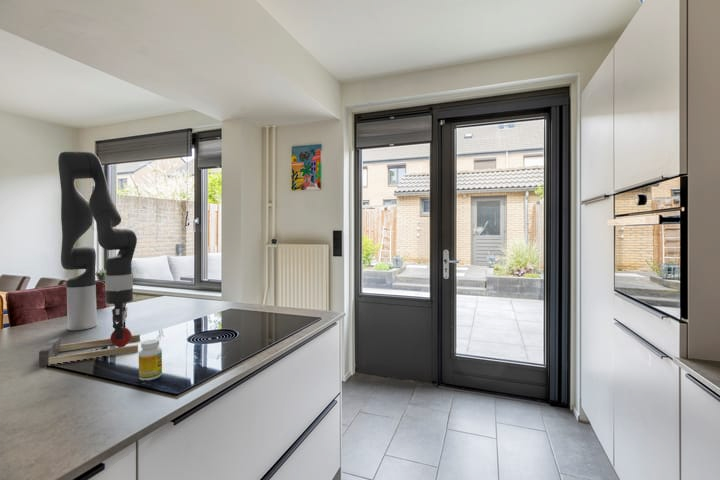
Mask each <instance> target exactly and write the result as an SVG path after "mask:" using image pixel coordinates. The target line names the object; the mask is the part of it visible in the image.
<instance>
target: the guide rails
mask: <svg viewBox="0 0 720 480" xmlns="http://www.w3.org/2000/svg"><path fill="white" fill-rule="evenodd" d="M131 335H132V337H131V340H130V341H129V342H128V343H130V342H131V343H132V342H137V341H138V342H139V341H141V334H140V333H137V334H131ZM110 338H111V337H107V338H101V339H94V340H93V339H91V340H85V341H78V342H71V343H63V344H61V336H60V337H54V338H53V337H52V338H51V339H50V340H49V341H48V342H47V343H46V344H45V345H44V346H43V347H42V348H41V349H40V350H39V351H38V360H39V361H38V362H39V363H38V364H39V368H41V367H48V366H51V365H50V364H55V365H58V364H57V363H61V364H64V363H63V362H68V363H71V362H70V361H74V362H78V361H77V360H80V361H84V360H83V359H87V360H90V359H89V358H93V359H97V358H96V357H100V358H103V357H102V356H106V357H110V356H109V355H112V356H117V355H118V354H119V355H124V354H131V353H137V352H138V353H139V344H131V345H127V346H126V345H125V346H124V347H117V346H116V347H112V348H104V349H97V350H91V351H85V352H84V351H83V352H77V353H71V354H65V355H64V354H63V355H58V354H60V352H67V351H73V350H74V351H75V350H81V349H82V350H83V349H89V348H96V347H102V346H109V345H113V344H112V343H111V340H110ZM47 365H48V366H47Z"/></svg>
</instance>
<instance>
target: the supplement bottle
mask: <svg viewBox="0 0 720 480" xmlns="http://www.w3.org/2000/svg"><path fill="white" fill-rule="evenodd" d="M159 345H160V341H159V339H148V340H145V341H142V342H141V344H140V346H141V350H140V351H138V378H139V380H140V381H144V380H145V381H146V380H147V381H152V380H155V379H158V378H160V377H161V376H162V375H163V357H162V356H163V352H162V351H163V350H162V348H161V347H159Z"/></svg>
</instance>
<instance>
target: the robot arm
mask: <svg viewBox="0 0 720 480" xmlns="http://www.w3.org/2000/svg"><path fill="white" fill-rule="evenodd" d="M58 173H59V182H60V191H61V193H60V194H61V198H60V199H61V200H60V201H61V204H60V206H61V207H60V218H61V219H60V221H61V222H60V223H61V237H62V238H61V249H60V250H61V251H60V263H61V267H62V268H63V270H66V271H67V270H68V271H71V270H74V271H75V270H76V271H77V270H85V271H84V272H82V273H81V274H79V275H78V276H74V277H72V278H68V279H67V280H66V283H65V285H66V311H67V314H66V315H67V330H68V331H81V330H87V329H91V328H95V327H96V326H97V321H98V320H97V289H96V287H97V286H96V285H97V284H96V283H97V282H96V266H97V265H96V263H97V261H96V260H97V253H96V249H95V247H93V246H75V244H76V242H77V241H78V240H79V239H80V238H81V237H83V235H84V234H85V233H87V231H88V230H90V228H91V226H92V225H93V223H94V221H95V223H96V231H97V242H98V244H99V246H100V247H101V248H102V249H104V250H107V251H115V250H116V251H117V250H118V252H117V254H116V255H115V256H111V257H108V258H107V259H106V260H105V281H104V283H105V285H104V287H105V289H104V291H105V294H104V295H105V304H109V305H114V307H112V309H111V315H112V318H111V319H112V328H113V329H114V330H115V340H119V339H123V327H125V328H126V321H127V317H128V306H127V303H130V302H133V300H134V290H133V289H134V288H133V287H134V284H133V283H134V282H133V281H134V280H133V276H132V275H133V274H132V260H133V257H134V254H135V251H136V247H137V243H138V238H137V237H138V236H137V235H136V233H135V232H134V230H133V229H130V228H116V227H117V226H118V225H120V224H121V222H122V216H121V214H120V213H119V211H118V208H117V206H116V205H115V203H114V200H113V199H112V198H113V197H112V195H111V193H110V188H109V185H108V181H107V177H106V176H105V175H106V174H105V172H104V169H103V165H102V162H101V160H100V158H99V157H98V155H97V154H96V153H95V152H91V151H63V152H60V153H59V155H58ZM79 179H80V180H81V179H85V180H86V179H92V180H93V182H94V188H93V191H92V193H91V195H90V197H89V200H88V199H86V197H84V196H83V194H82V193H81V192H80V191H79V189H78V188H77V187H76V184H75V180H79ZM93 220H94V221H93Z"/></svg>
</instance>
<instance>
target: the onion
mask: <svg viewBox="0 0 720 480" xmlns="http://www.w3.org/2000/svg"><path fill="white" fill-rule="evenodd" d="M132 335H133V334H132V332H131V331H130V329H128V327H126V326H125V327H123V339H119V340H115V329H114V330H113V331H112V333H111V335H110V337H109V338H110V340H111V343H112V344H111V345H114V346H115V347H116V348H117V347H124V346H126V345H128V343H130V342H129V341H130V340H131V337H132Z"/></svg>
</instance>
